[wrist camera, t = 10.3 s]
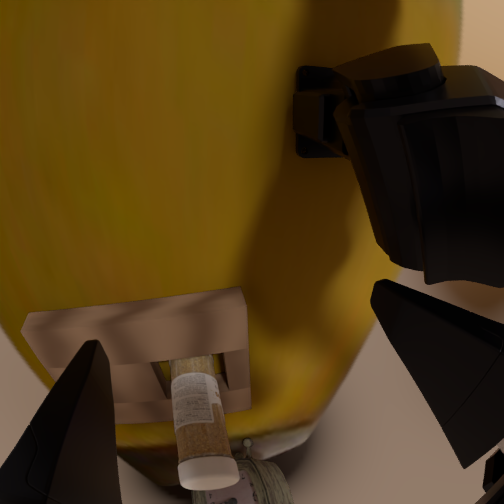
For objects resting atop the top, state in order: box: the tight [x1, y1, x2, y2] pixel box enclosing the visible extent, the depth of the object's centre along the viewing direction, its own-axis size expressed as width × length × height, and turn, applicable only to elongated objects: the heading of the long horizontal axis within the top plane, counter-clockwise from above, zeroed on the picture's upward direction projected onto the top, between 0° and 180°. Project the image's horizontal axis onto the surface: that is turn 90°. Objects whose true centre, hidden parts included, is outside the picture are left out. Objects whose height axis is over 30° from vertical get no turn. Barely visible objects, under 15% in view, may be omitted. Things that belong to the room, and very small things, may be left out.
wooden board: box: [21, 287, 251, 424], centre depth 26 cm, size 20×17×2 cm
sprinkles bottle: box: [169, 354, 240, 490], centre depth 22 cm, size 5×5×14 cm
